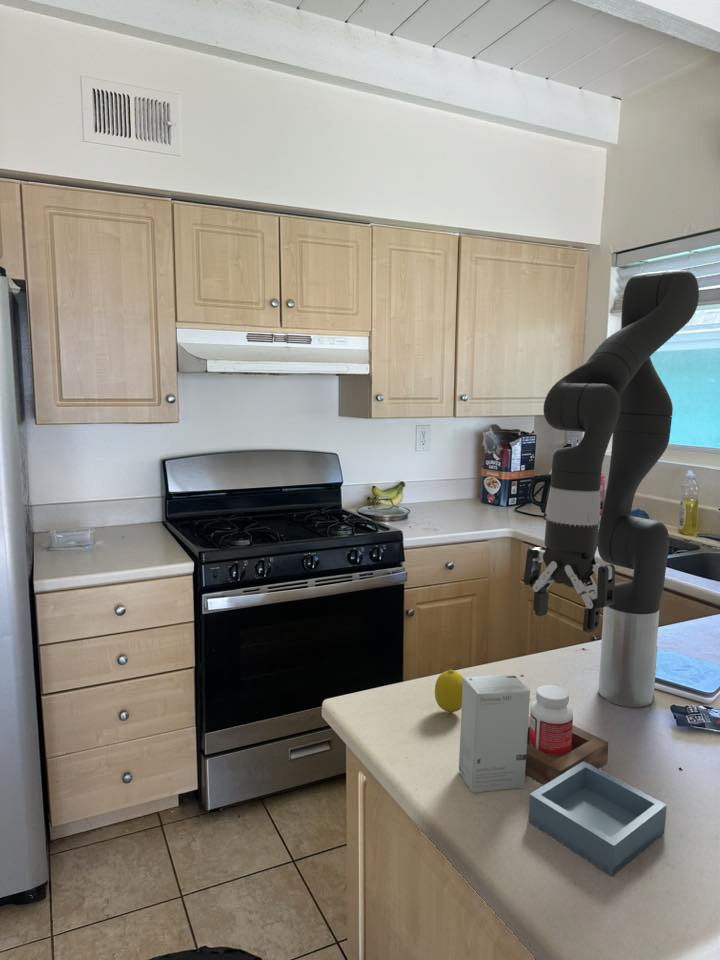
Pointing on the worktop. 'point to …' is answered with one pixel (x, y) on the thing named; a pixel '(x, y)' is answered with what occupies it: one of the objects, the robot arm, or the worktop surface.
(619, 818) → the tray
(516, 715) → the skincare box
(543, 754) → the collar block
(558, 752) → the pill bottle
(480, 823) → the worktop surface
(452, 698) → the lemon
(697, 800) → the worktop surface
